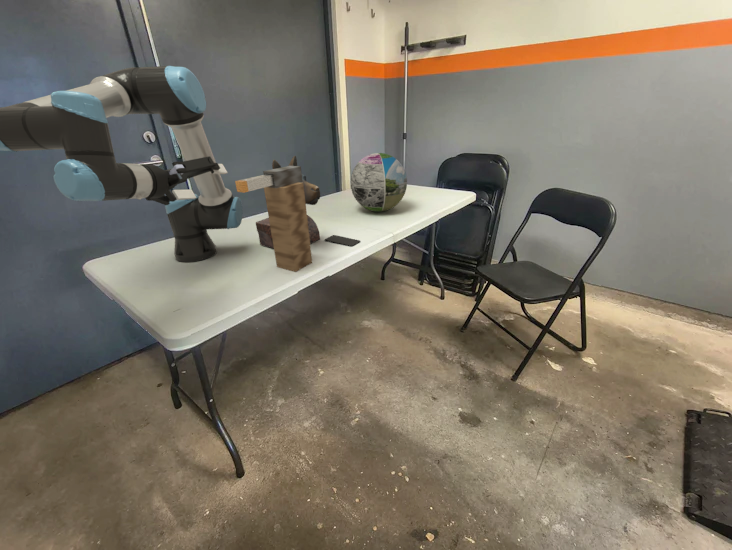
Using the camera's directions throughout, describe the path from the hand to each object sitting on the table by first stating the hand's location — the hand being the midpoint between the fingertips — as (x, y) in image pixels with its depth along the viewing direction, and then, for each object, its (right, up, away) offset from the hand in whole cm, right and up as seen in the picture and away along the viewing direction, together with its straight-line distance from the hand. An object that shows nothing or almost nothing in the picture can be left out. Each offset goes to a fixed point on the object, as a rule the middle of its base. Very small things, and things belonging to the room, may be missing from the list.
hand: (208, 181), depth 94 cm
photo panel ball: (+53, +9, +87) cm, 102 cm away
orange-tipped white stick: (+15, +1, +8) cm, 18 cm away
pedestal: (+19, -23, +26) cm, 40 cm away
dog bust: (+17, -14, +44) cm, 49 cm away
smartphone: (+35, -13, +46) cm, 60 cm away
